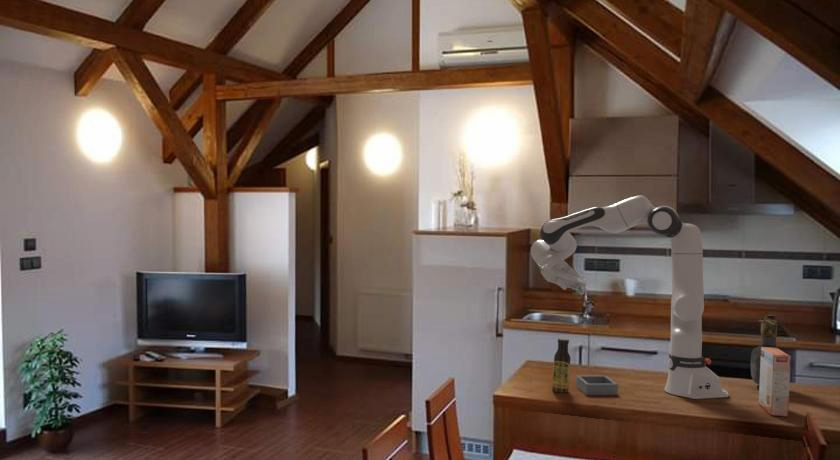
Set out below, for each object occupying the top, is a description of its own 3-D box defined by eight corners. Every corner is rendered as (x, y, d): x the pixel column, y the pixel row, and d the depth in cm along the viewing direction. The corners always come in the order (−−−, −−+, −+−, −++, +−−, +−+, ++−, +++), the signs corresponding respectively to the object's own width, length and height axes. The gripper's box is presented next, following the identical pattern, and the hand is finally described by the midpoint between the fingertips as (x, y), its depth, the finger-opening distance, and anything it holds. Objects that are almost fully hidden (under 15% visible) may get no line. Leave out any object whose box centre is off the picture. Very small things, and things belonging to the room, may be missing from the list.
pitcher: (755, 393, 256) (758, 314, 255) (746, 381, 274) (749, 307, 273) (787, 396, 253) (790, 316, 252) (776, 383, 271) (779, 309, 270)
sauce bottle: (550, 392, 254) (551, 339, 253) (553, 388, 260) (554, 336, 259) (568, 394, 251) (569, 341, 251) (570, 390, 257) (572, 338, 256)
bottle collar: (606, 385, 264) (606, 375, 264) (617, 395, 251) (617, 384, 251) (576, 385, 263) (576, 375, 263) (586, 395, 250) (586, 384, 250)
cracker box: (789, 417, 227) (791, 355, 226) (770, 416, 228) (772, 354, 228) (776, 405, 241) (778, 347, 240) (758, 404, 242) (760, 346, 241)
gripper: (541, 257, 261) (559, 278, 250) (577, 268, 272) (596, 289, 261) (532, 270, 263) (550, 291, 252) (569, 280, 274) (587, 301, 263)
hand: (574, 290), depth 257 cm, fingers open, 8 cm apart
